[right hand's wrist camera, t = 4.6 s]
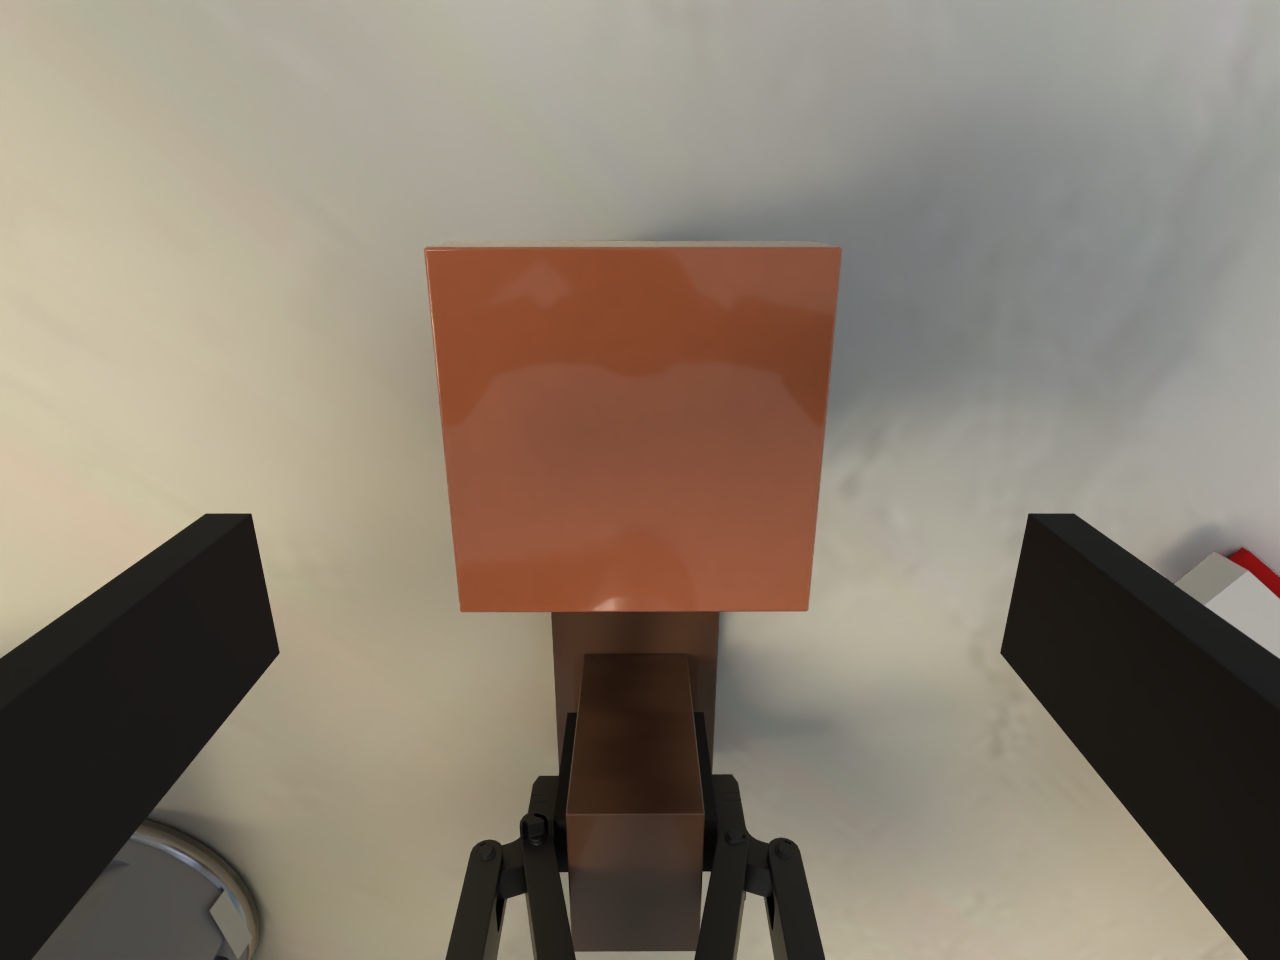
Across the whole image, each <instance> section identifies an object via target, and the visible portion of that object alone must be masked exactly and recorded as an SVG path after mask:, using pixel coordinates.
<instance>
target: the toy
mask: <svg viewBox="0 0 1280 960" xmlns="http://www.w3.org/2000/svg"><path fill="white" fill-rule="evenodd" d="M1174 585H1176V586H1177V587H1179V588H1180V589H1182V590H1183V591H1184V592H1186V593H1187V594H1189V595H1190V596H1191V597H1193V598H1194V599H1196V600H1197V601H1199V602H1200V603H1201V604H1203V605H1204V606H1206V607H1207V608H1209V609H1210V610H1211V611H1213V612H1214V613H1216V614H1217V615H1218V616H1220V617H1221V618H1223V619H1224V620H1226V621H1227V622H1228V623H1230V624H1231V625H1233V626H1234V627H1235V628H1237V629H1238V630H1240V631H1241V632H1243V633H1244V634H1245V635H1247V636H1248V637H1250V638H1251V639H1252V640H1254V641H1255V642H1257V643H1258V644H1260V645H1261V646H1262V647H1264V648H1265V649H1267V650H1268V651H1269V652H1271V653H1272V654H1274V655H1275V656H1277V657H1278V658H1279V659H1280V577H1279V576H1277V575H1276V574H1275V573H1274V572H1273V571H1272V570H1270V569H1269V568H1268V567H1267V566H1266V565H1265V564H1263V563H1262V562H1261V561H1260V560H1259V559H1258V558H1256V557H1255V556H1254V555H1253V554H1252V553H1251V552H1249V551H1248V550H1246V549H1244V548H1241V549H1240V550H1238V551H1237V552H1236V553H1235V554H1234V555H1232V556H1231V557H1230V558H1229V559H1227V558H1226V557H1224V556H1222V555H1220V554H1219V553H1217V552H1215V551H1214V552H1213V553H1212V554H1210V555H1209V556H1208V557H1207V558H1205V559H1204V560H1203V561H1202V562H1201V563H1199V564H1198V565H1197V566H1196V567H1194V568H1193V569H1192V570H1191V571H1190V572H1188V573H1187V574H1186V575H1185V576H1183V577H1182V578H1181V579H1180V580H1178V581H1177V582H1176V583H1175V584H1174Z"/></svg>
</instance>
